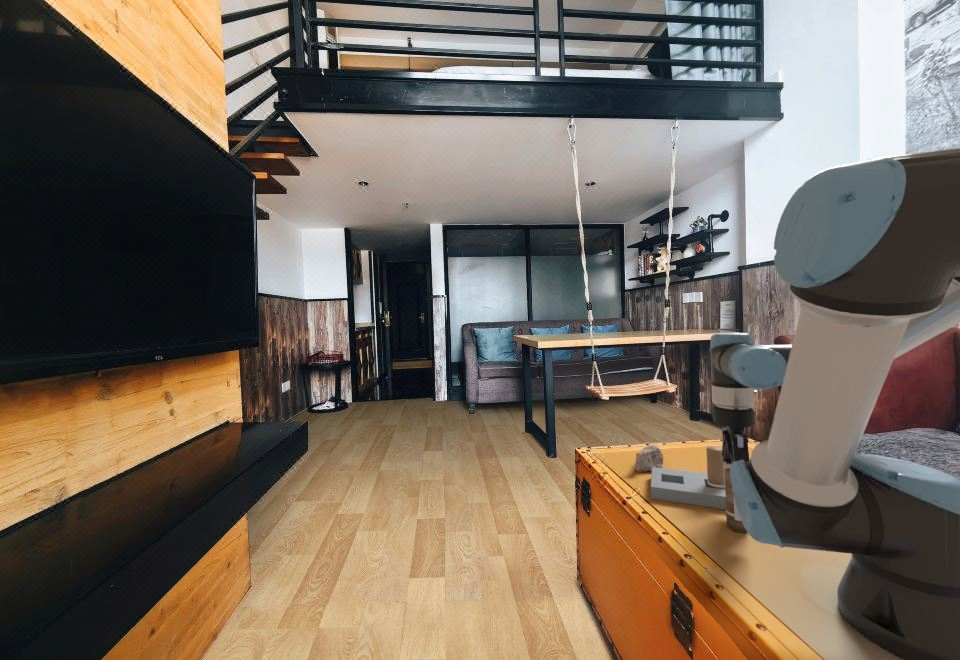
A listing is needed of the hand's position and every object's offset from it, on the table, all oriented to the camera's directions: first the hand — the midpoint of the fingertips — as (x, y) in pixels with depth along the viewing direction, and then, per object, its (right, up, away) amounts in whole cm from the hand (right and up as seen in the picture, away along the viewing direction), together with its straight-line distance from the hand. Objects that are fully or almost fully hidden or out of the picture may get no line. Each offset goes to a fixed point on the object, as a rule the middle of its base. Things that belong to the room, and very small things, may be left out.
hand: (737, 505), depth 80 cm
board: (0, -5, +16) cm, 17 cm away
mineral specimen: (-3, -5, +35) cm, 35 cm away
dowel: (0, -5, 0) cm, 5 cm away
